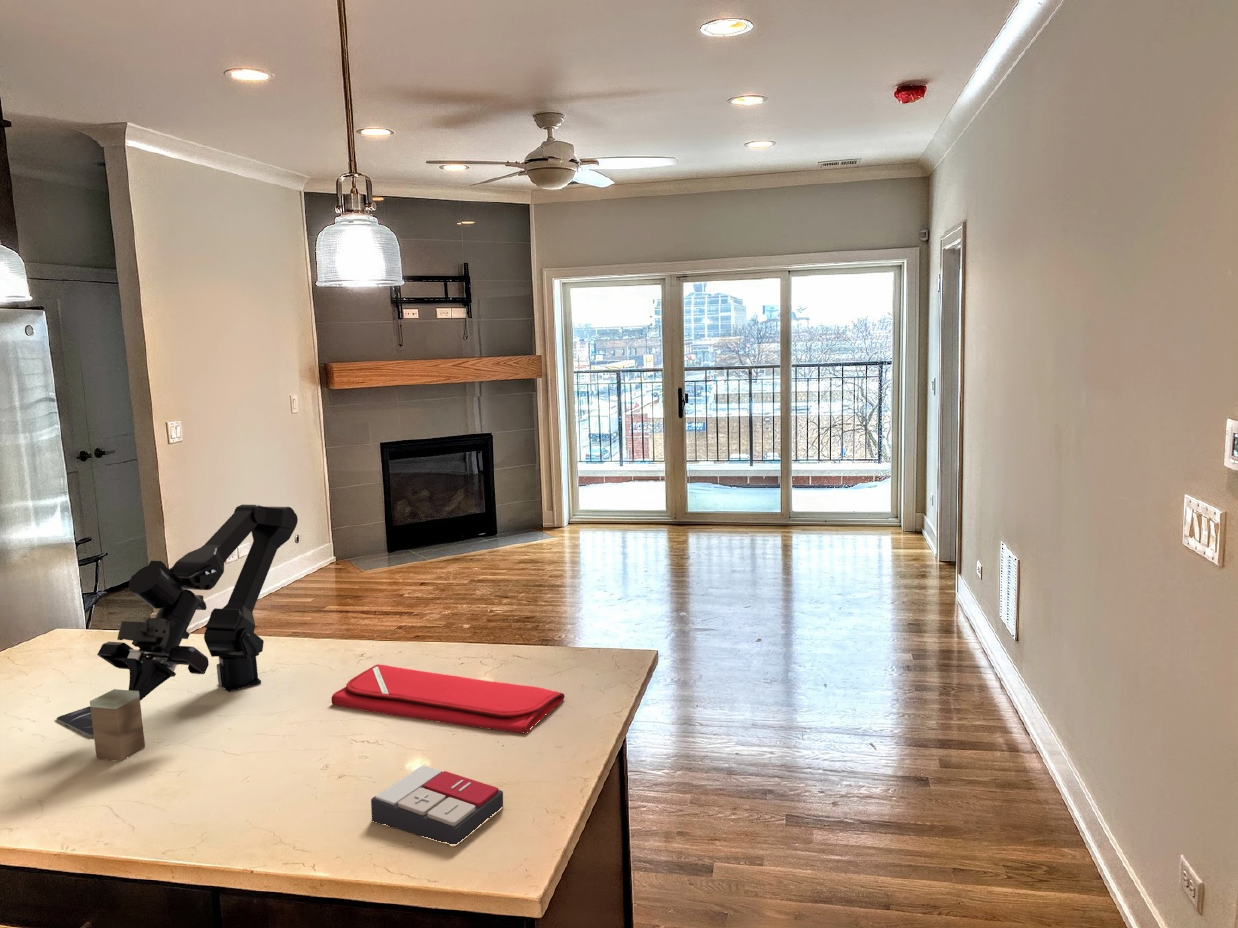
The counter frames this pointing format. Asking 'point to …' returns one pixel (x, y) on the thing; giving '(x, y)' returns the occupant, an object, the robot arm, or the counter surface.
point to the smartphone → (79, 721)
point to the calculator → (436, 804)
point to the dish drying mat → (447, 698)
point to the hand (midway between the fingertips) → (130, 704)
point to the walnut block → (117, 724)
